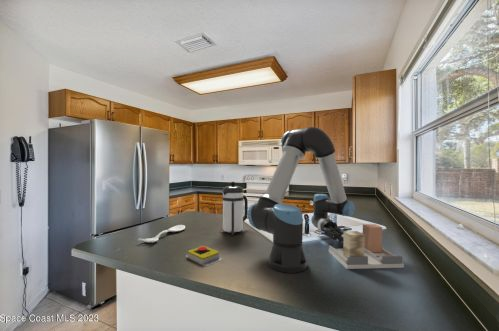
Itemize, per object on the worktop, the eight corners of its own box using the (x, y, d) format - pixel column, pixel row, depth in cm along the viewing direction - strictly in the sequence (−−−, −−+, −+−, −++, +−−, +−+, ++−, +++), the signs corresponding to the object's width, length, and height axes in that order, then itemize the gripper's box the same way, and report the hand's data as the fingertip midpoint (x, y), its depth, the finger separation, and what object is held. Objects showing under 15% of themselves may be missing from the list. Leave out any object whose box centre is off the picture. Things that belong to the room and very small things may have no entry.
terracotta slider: (368, 252, 99) (369, 227, 99) (362, 248, 104) (362, 224, 104) (382, 252, 100) (382, 227, 100) (375, 248, 105) (375, 224, 105)
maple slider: (349, 263, 88) (349, 235, 88) (343, 257, 93) (343, 231, 93) (364, 262, 89) (364, 234, 89) (357, 257, 94) (357, 231, 94)
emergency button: (202, 242, 106) (223, 250, 96) (202, 251, 106) (223, 260, 96) (184, 247, 99) (205, 256, 89) (184, 257, 99) (205, 268, 89)
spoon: (137, 245, 113) (137, 238, 113) (175, 228, 143) (175, 222, 143) (152, 247, 110) (152, 240, 110) (188, 229, 141) (188, 223, 141)
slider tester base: (346, 268, 87) (346, 257, 87) (328, 252, 104) (328, 242, 104) (403, 267, 89) (403, 256, 89) (376, 251, 106) (377, 241, 106)
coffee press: (246, 236, 127) (247, 182, 127) (218, 236, 127) (218, 182, 127) (247, 227, 144) (247, 180, 144) (222, 227, 145) (222, 180, 144)
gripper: (339, 233, 118) (365, 251, 94) (315, 234, 117) (335, 252, 93) (339, 219, 118) (365, 233, 94) (315, 219, 117) (335, 234, 93)
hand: (350, 242), depth 94 cm, fingers closed
